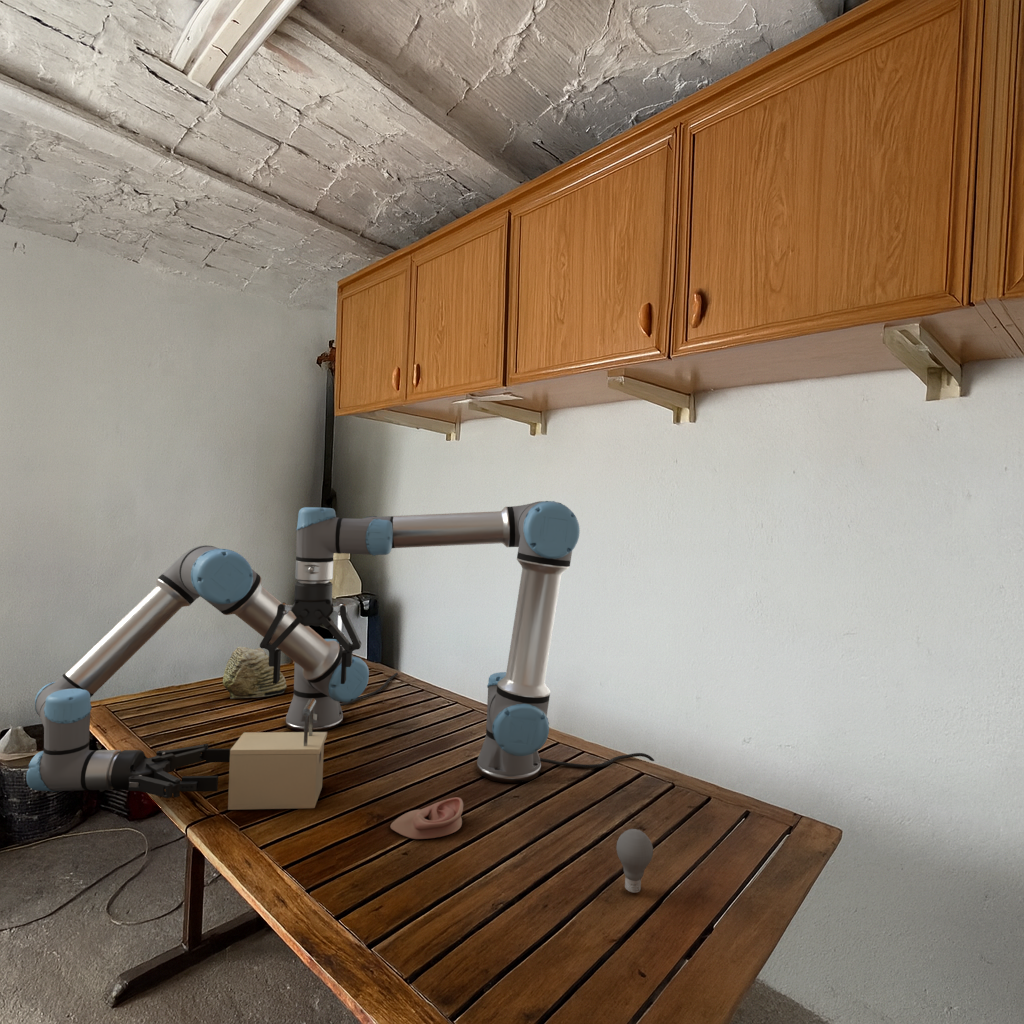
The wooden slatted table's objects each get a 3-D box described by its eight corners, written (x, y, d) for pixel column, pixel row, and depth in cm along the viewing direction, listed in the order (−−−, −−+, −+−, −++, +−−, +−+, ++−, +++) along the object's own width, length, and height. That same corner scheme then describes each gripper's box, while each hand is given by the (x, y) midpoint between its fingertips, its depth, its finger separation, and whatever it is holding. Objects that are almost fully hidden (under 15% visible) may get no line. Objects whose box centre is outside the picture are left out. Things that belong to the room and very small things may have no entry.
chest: (322, 787, 138) (324, 736, 138) (314, 808, 129) (316, 754, 129) (241, 788, 136) (243, 737, 136) (227, 809, 127) (229, 755, 126)
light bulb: (610, 879, 108) (613, 822, 108) (644, 879, 109) (647, 822, 109) (619, 902, 102) (622, 840, 102) (655, 901, 103) (658, 840, 103)
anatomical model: (384, 813, 120) (406, 787, 131) (383, 834, 120) (405, 806, 131) (452, 824, 117) (468, 796, 128) (451, 845, 117) (467, 815, 128)
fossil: (218, 695, 195) (220, 647, 195) (278, 685, 208) (279, 640, 207) (228, 703, 189) (230, 653, 188) (289, 692, 201) (290, 645, 201)
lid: (327, 736, 138) (328, 696, 138) (319, 754, 129) (321, 710, 129) (243, 736, 136) (245, 695, 136) (229, 754, 126) (231, 710, 126)
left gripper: (145, 762, 140) (245, 761, 143) (84, 819, 116) (206, 817, 118) (146, 728, 140) (246, 728, 143) (85, 778, 115) (207, 777, 118)
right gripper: (246, 581, 127) (242, 687, 127) (373, 585, 130) (369, 687, 131) (256, 577, 134) (252, 676, 135) (376, 580, 138) (372, 677, 138)
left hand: (228, 768), depth 131 cm, fingers open, 13 cm apart
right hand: (310, 682), depth 133 cm, fingers open, 13 cm apart
